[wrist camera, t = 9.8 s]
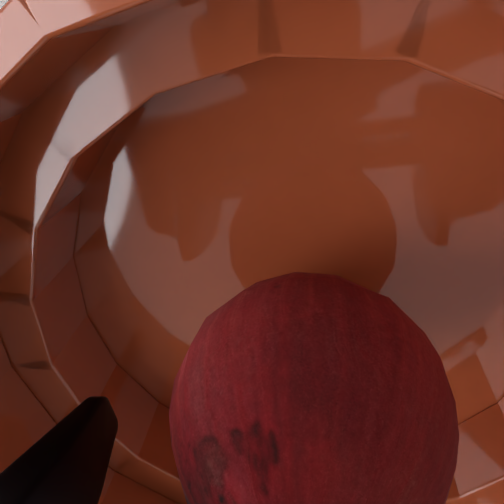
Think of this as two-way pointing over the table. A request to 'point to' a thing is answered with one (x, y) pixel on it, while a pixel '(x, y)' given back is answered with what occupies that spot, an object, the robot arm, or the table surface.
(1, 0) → the table surface
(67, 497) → the robot arm
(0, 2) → the table surface
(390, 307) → the onion
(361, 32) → the terracotta bowl
